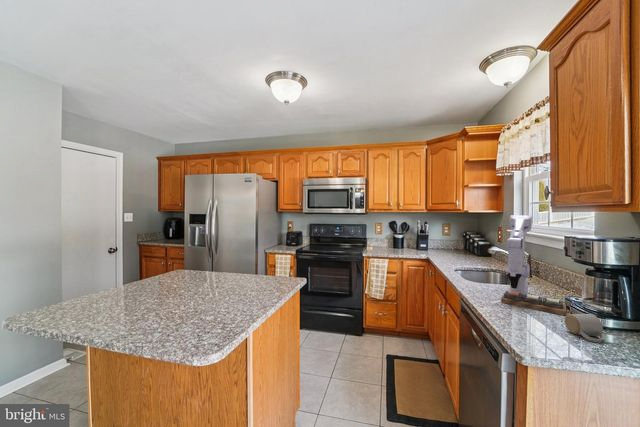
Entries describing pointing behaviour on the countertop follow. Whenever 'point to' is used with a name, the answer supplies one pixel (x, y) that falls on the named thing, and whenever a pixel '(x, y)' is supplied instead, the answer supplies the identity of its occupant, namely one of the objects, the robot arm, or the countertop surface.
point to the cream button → (532, 296)
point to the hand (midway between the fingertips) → (513, 288)
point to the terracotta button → (514, 293)
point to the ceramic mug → (584, 326)
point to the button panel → (534, 303)
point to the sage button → (552, 300)
